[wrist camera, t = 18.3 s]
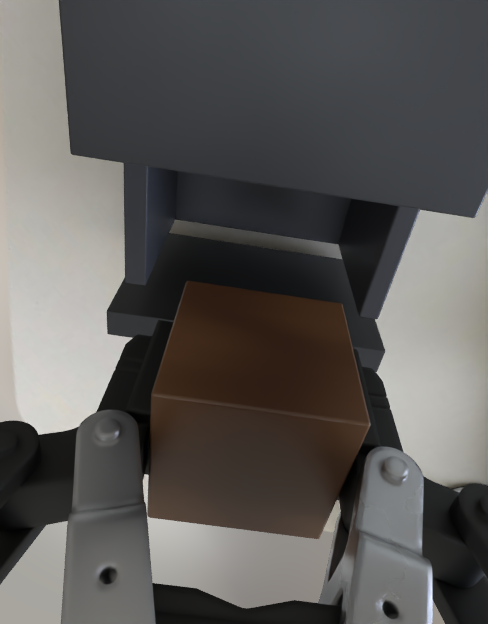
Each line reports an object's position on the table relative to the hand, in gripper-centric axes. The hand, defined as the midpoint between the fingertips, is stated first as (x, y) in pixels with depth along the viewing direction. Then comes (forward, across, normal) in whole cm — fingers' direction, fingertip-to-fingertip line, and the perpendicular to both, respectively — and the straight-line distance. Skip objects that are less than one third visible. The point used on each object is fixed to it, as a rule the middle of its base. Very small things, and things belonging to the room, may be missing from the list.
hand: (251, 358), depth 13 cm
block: (0, 0, 0) cm, 0 cm away
